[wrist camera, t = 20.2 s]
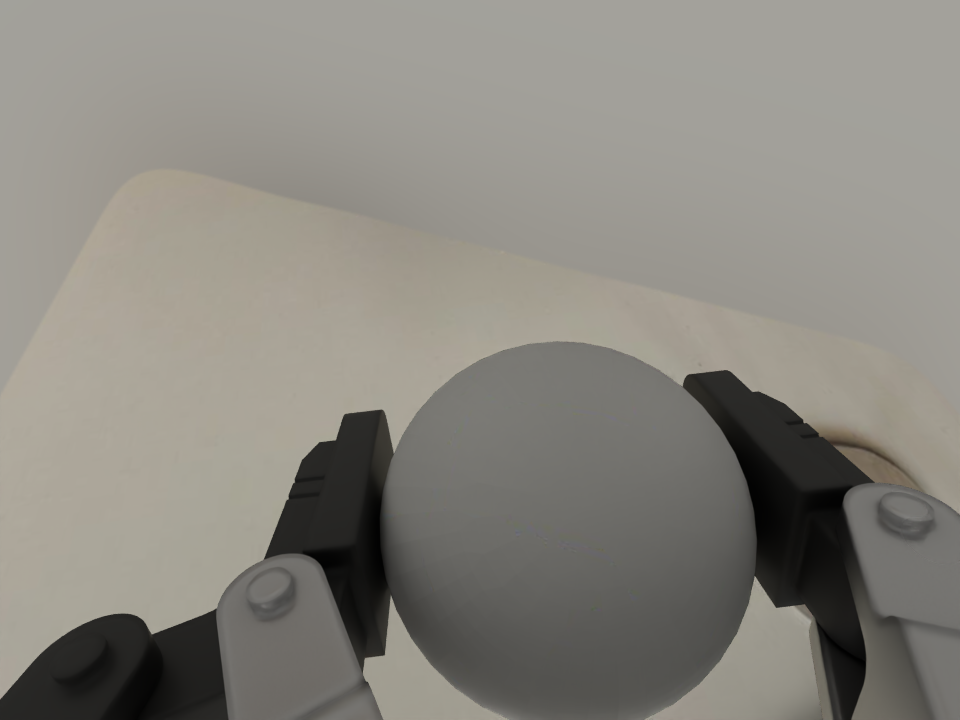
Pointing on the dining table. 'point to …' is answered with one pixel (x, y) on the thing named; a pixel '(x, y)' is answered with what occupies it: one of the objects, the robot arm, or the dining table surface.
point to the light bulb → (568, 535)
